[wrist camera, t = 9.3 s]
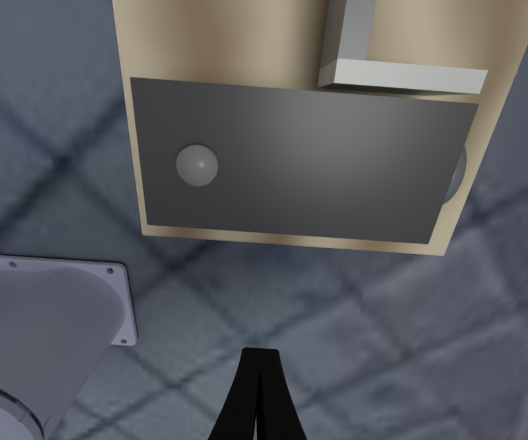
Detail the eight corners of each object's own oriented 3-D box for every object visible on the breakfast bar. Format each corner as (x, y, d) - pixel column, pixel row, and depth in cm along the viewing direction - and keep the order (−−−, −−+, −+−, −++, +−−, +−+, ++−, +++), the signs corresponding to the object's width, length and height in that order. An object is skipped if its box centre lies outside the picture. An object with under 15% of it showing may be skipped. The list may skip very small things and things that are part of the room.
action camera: (177, 194, 16) (141, 230, 12) (170, 84, 14) (121, 74, 9) (401, 209, 17) (453, 252, 12) (432, 104, 14) (514, 105, 9)
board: (149, 227, 19) (142, 234, 17) (120, -33, 13) (106, -46, 12) (433, 246, 19) (443, 255, 18) (525, 0, 13) (548, -9, 12)
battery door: (316, 87, 14) (333, 82, 10) (331, -20, 12) (357, -71, 8) (425, 96, 14) (479, 93, 10) (456, -10, 12) (532, -56, 8)
